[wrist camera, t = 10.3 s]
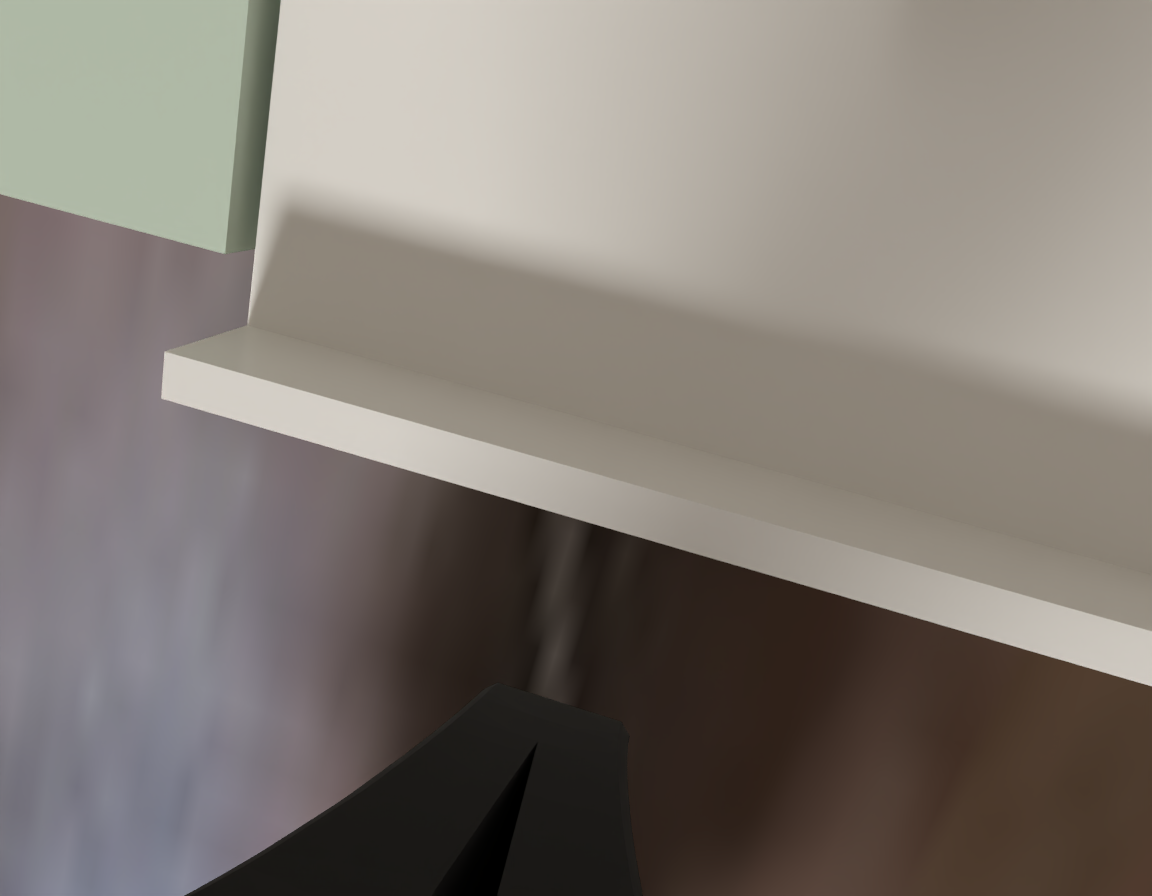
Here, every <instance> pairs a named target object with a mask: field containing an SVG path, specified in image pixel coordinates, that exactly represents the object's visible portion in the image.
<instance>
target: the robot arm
mask: <svg viewBox="0 0 1152 896" xmlns="http://www.w3.org/2000/svg"><path fill="white" fill-rule="evenodd" d="M628 742H629V734H628V733H627V731H626V729H625V727H624V726H623V724H622V722H620V721H617V720H614V719H611V718H608V717H605V716H601V715H598V714H595V713H592V712H589V711H586V710H582V709H579V708H576V707H573V706H570V705H567V704H563V703H560V702H557V701H554V700H551V699H548V698H545V697H541V696H538V695H535V694H532V693H529V692H526V691H522V690H519V689H516V688H513V687H510V686H507V685H504V684H500V683H496V684H494V685H492V686H489V687H487V688H485V689H484V690H482V691H481V692H480V693H479V694H478V695H477V696H476V697H475V698H474V699H473V700H471V701H470V702H469V703H468V704H467V705H466V706H464V707H463V708H462V709H461V710H460V711H459V712H457V713H456V714H455V715H454V716H453V717H452V718H450V719H449V720H448V721H447V722H446V723H444V724H443V725H442V726H441V727H439V728H438V729H437V730H436V731H434V732H433V733H432V734H431V735H429V736H428V737H427V738H426V739H424V740H423V741H422V742H420V743H419V744H418V745H417V746H415V747H414V748H413V749H412V750H410V751H409V752H408V753H406V754H405V755H404V756H402V757H401V758H399V759H398V760H397V761H395V762H394V763H393V764H391V765H390V766H388V767H387V768H386V769H384V770H383V771H382V772H380V773H379V774H377V775H376V776H375V777H373V778H372V779H371V780H369V781H368V782H366V783H365V784H364V785H362V786H361V787H360V788H358V789H357V790H355V791H354V792H353V793H351V794H350V795H348V796H347V797H345V798H344V799H343V800H341V801H340V802H338V803H337V804H335V805H334V806H332V807H331V808H329V809H327V810H326V811H324V812H323V813H321V814H320V815H318V816H317V817H315V818H313V819H312V820H310V821H309V822H307V823H306V824H304V825H302V826H301V827H299V828H298V829H296V830H295V831H293V832H292V833H290V834H288V835H287V836H285V837H284V838H282V839H281V840H279V841H278V842H276V843H274V844H273V845H271V846H270V847H268V848H267V849H265V850H263V851H262V852H260V853H258V854H257V855H255V856H253V857H252V858H250V859H248V860H247V861H245V862H243V863H242V864H240V865H238V866H236V867H235V868H233V869H231V870H230V871H228V872H226V873H224V874H223V875H221V876H219V877H217V878H216V879H214V880H212V881H210V882H208V883H207V884H205V885H203V886H201V887H200V888H198V889H196V890H194V891H192V892H190V893H188V894H187V895H185V896H643V895H642V889H641V884H640V878H639V872H638V867H637V861H636V856H635V849H634V842H633V835H632V827H631V818H630V807H629V797H628V781H627V753H628Z"/></svg>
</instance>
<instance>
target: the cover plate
mask: <svg viewBox="0 0 1152 896" xmlns="http://www.w3.org/2000/svg"><path fill="white" fill-rule="evenodd" d="M280 4H281V0H0V194H2V195H6V196H9V197H13V198H17V199H21V200H24V201H28V202H32V203H36V204H39V205H43V206H47V207H50V208H54V209H58V210H62V211H65V212H69V213H73V214H77V215H80V216H84V217H88V218H92V219H95V220H99V221H103V222H107V223H110V224H114V225H118V226H122V227H125V228H129V229H133V230H137V231H140V232H144V233H148V234H152V235H155V236H159V237H163V238H167V239H170V240H174V241H178V242H182V243H185V244H189V245H193V246H197V247H200V248H204V249H208V250H212V251H215V252H219V253H223V254H228V253H234V252H240V251H245V250H251V249H255V246H256V237H257V227H258V217H259V208H260V198H261V188H262V179H263V169H264V159H265V149H266V140H267V130H268V120H269V111H270V101H271V91H272V82H273V72H274V62H275V53H276V43H277V33H278V23H279V14H280Z"/></svg>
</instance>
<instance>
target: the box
mask: <svg viewBox="0 0 1152 896" xmlns="http://www.w3.org/2000/svg"><path fill="white" fill-rule="evenodd" d="M161 398H162V399H165V400H168V401H172V402H175V403H179V404H182V405H186V406H189V407H193V408H196V409H199V410H203V411H206V412H210V413H213V414H217V415H220V416H224V417H227V418H230V419H234V420H237V421H241V422H244V423H248V424H251V425H255V426H258V427H261V428H265V429H268V430H272V431H275V432H279V433H282V434H286V435H289V436H292V437H296V438H299V439H303V440H306V441H310V442H313V443H316V444H320V445H323V446H327V447H330V448H334V449H337V450H341V451H344V452H347V453H351V454H354V455H358V456H361V457H365V458H368V459H372V460H375V461H378V462H382V463H385V464H389V465H392V466H396V467H399V468H403V469H406V470H409V471H413V472H416V473H420V474H423V475H427V476H430V477H434V478H437V479H440V480H444V481H447V482H451V483H454V484H458V485H461V486H464V487H468V488H471V489H475V490H478V491H482V492H485V493H489V494H492V495H495V496H499V497H502V498H506V499H509V500H513V501H516V502H520V503H523V504H526V505H530V506H533V507H537V508H540V509H544V510H547V511H551V512H554V513H557V514H561V515H564V516H568V517H571V518H575V519H578V520H582V521H585V522H588V523H592V524H595V525H599V526H602V527H606V528H609V529H613V530H616V531H619V532H623V533H626V534H630V535H633V536H637V537H640V538H643V539H647V540H650V541H654V542H657V543H661V544H664V545H668V546H671V547H674V548H678V549H681V550H685V551H688V552H692V553H695V554H699V555H702V556H705V557H709V558H712V559H716V560H719V561H723V562H726V563H730V564H733V565H736V566H740V567H743V568H747V569H750V570H754V571H757V572H761V573H764V574H767V575H771V576H774V577H778V578H781V579H785V580H788V581H791V582H795V583H798V584H802V585H805V586H809V587H812V588H816V589H819V590H822V591H826V592H829V593H833V594H836V595H840V596H843V597H847V598H850V599H853V600H857V601H860V602H864V603H867V604H871V605H874V606H878V607H881V608H884V609H888V610H891V611H895V612H898V613H902V614H905V615H909V616H912V617H915V618H919V619H922V620H926V621H929V622H933V623H936V624H940V625H943V626H946V627H950V628H953V629H957V630H960V631H964V632H967V633H970V634H974V635H977V636H981V637H984V638H988V639H991V640H995V641H998V642H1001V643H1005V644H1008V645H1012V646H1015V647H1019V648H1022V649H1026V650H1029V651H1032V652H1036V653H1039V654H1043V655H1046V656H1050V657H1053V658H1057V659H1060V660H1063V661H1067V662H1070V663H1074V664H1077V665H1081V666H1084V667H1088V668H1091V669H1094V670H1098V671H1101V672H1105V673H1108V674H1112V675H1115V676H1118V677H1122V678H1125V679H1129V680H1132V681H1136V682H1139V683H1143V684H1146V685H1149V686H1152V0H281V4H280V14H279V23H278V33H277V43H276V53H275V62H274V72H273V82H272V91H271V101H270V111H269V120H268V130H267V140H266V149H265V159H264V169H263V179H262V188H261V198H260V208H259V217H258V227H257V237H256V246H255V256H254V266H253V275H252V285H251V295H250V305H249V314H248V324H247V326H244V327H240V328H237V329H234V330H231V331H228V332H225V333H222V334H218V335H215V336H212V337H209V338H206V339H203V340H200V341H197V342H193V343H190V344H187V345H184V346H181V347H178V348H175V349H171V350H168V351H165V355H164V369H163V382H162V396H161Z"/></svg>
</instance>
